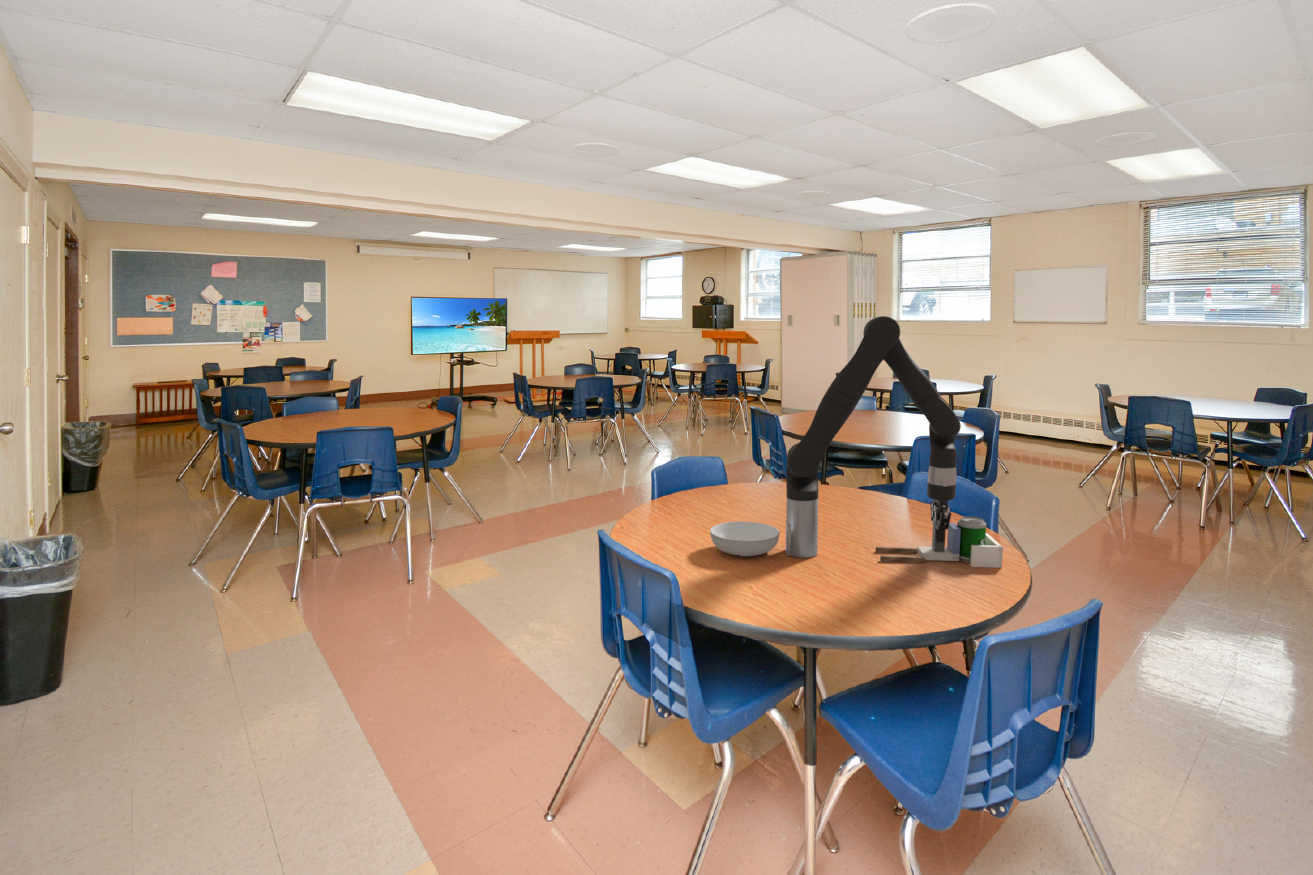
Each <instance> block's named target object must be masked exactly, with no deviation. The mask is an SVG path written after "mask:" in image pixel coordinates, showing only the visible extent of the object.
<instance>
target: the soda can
mask: <svg viewBox="0 0 1313 875" xmlns="http://www.w3.org/2000/svg"><path fill="white" fill-rule="evenodd" d="M956 525H957V526H958V527H959V528H960V529H961V533H960V553H959V561H961V562H965V563H970V560H971V545H985V537H986V533H987V523H986V522H985V521H984V519H983V518H980V517H977V516H962V517H960V519H959V520H957V522H956Z"/></svg>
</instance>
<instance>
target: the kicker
mask: <svg viewBox="0 0 1313 875" xmlns="http://www.w3.org/2000/svg"><path fill="white" fill-rule="evenodd" d="M938 518H940V517H938ZM932 522H933V524H932V537H931V539H932V540H931V546H917V548H918V554H917V555H918V557H924V558H925V561H942V562H943V561H946V562H947V561H948V562H953V561H954V562H959V561H960V560H959V553H960V533H961V529H960V528H959V527H958V526H957V523H955V522H950V523H949V528H948V529H946V530H947V537H946V540H947V541H946V540H945V541H944V542H937V541H936V530H937V528H936V525H937V521H935V516H934V517H933V521H932ZM942 525H944V523H942ZM946 530H945V533H946ZM946 542H947V543H946Z"/></svg>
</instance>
